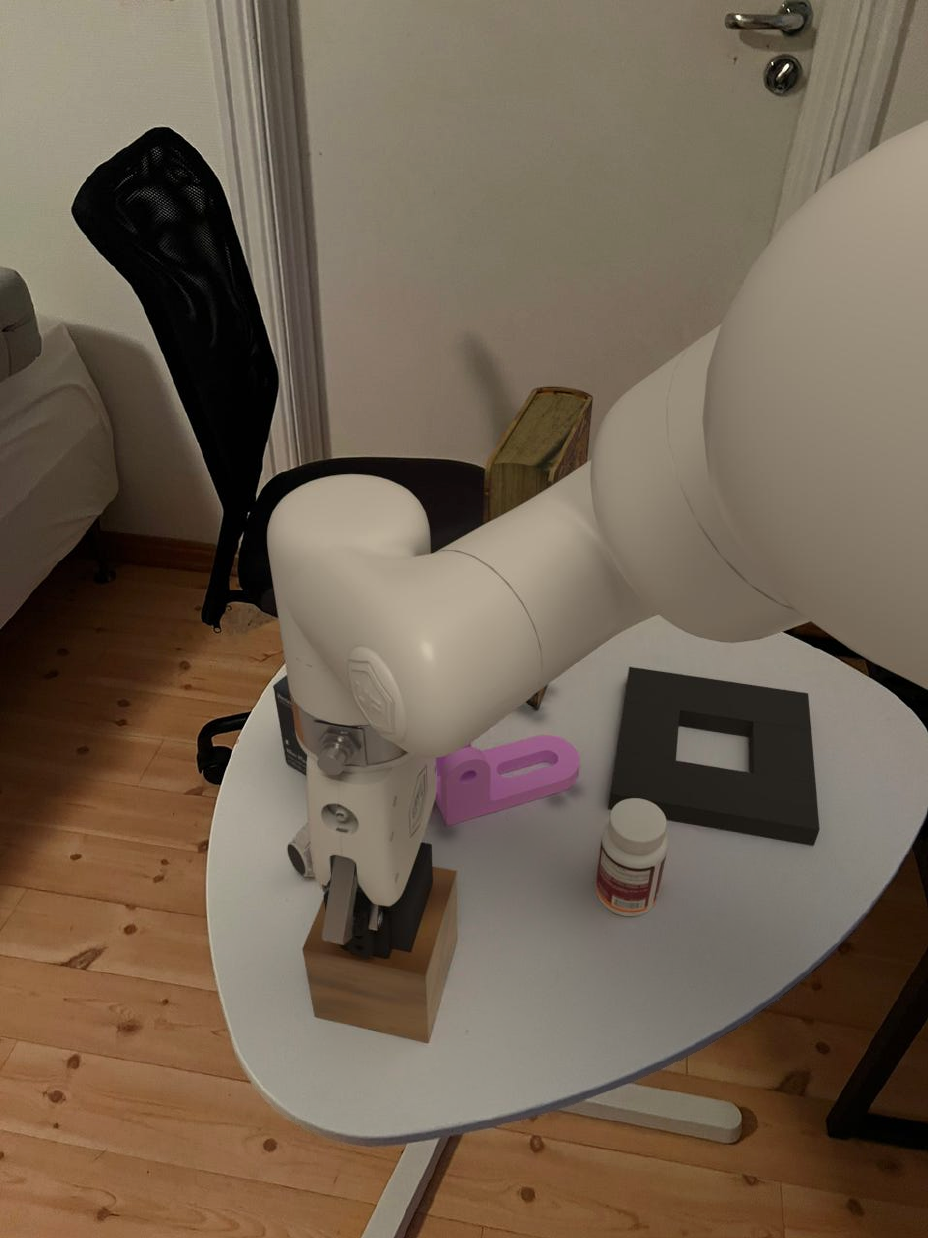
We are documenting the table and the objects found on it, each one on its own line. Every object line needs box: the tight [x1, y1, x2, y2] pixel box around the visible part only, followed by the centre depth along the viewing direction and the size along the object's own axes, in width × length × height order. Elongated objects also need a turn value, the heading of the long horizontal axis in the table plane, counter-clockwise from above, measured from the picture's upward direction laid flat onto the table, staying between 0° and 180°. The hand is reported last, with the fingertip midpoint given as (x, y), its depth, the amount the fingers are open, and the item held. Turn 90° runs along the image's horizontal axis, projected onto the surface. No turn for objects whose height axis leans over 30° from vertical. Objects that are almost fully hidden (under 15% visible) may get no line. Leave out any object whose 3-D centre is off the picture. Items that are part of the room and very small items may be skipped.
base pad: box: [607, 666, 820, 847], centre depth 82 cm, size 16×16×2 cm
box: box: [272, 674, 307, 776], centre depth 78 cm, size 9×6×10 cm, turn 54°
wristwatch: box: [286, 822, 315, 878], centre depth 71 cm, size 3×5×5 cm, turn 130°
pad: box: [322, 841, 434, 953], centre depth 59 cm, size 5×5×4 cm
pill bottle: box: [595, 798, 669, 917], centre depth 68 cm, size 5×5×8 cm
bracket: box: [434, 734, 581, 827], centre depth 78 cm, size 13×6×7 cm, turn 111°
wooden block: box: [302, 865, 458, 1044], centre depth 63 cm, size 8×8×8 cm
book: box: [482, 386, 594, 710], centre depth 86 cm, size 16×6×25 cm, turn 162°
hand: (381, 906), depth 60 cm, fingers open, 5 cm apart
